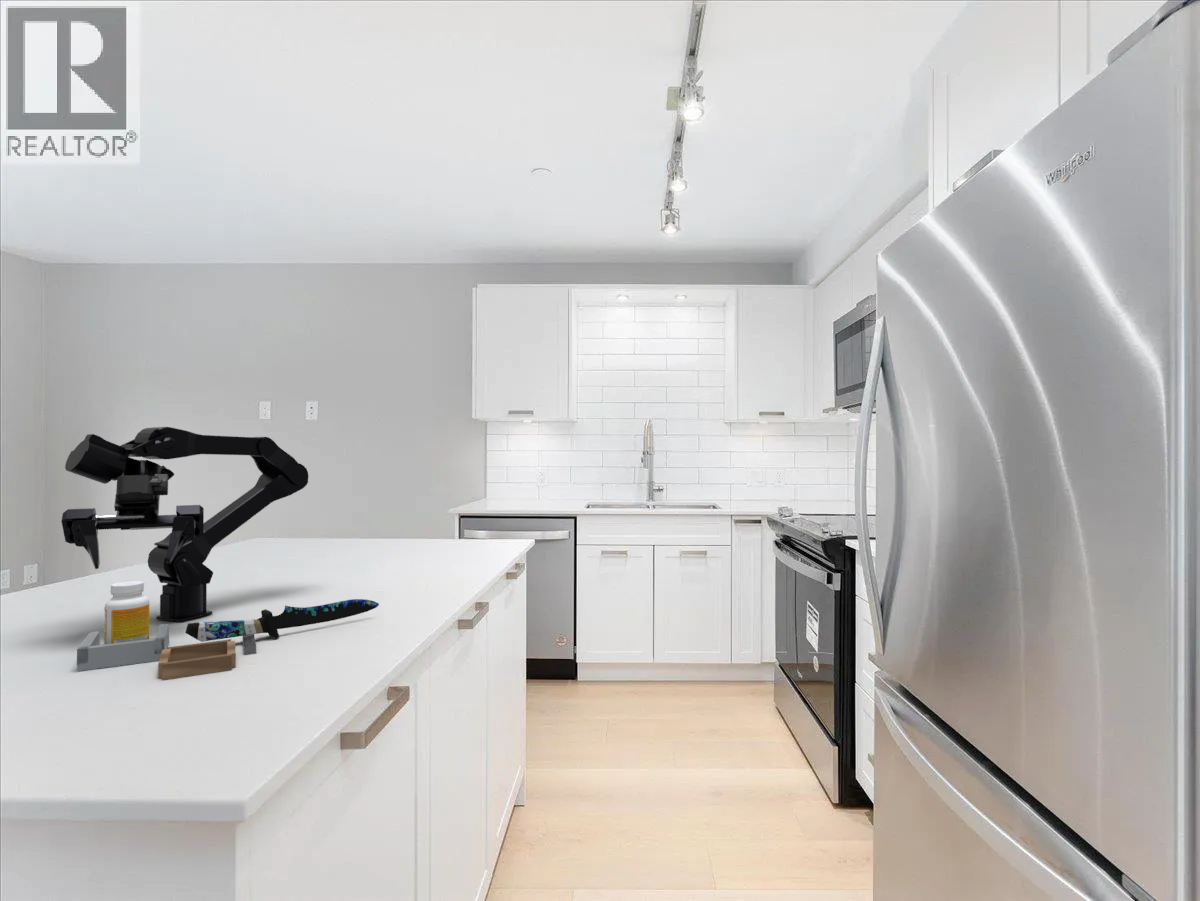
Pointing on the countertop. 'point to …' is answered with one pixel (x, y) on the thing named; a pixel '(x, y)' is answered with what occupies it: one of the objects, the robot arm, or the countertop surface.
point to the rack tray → (120, 651)
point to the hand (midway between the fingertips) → (133, 564)
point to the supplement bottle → (126, 613)
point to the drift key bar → (249, 644)
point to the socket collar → (197, 659)
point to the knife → (279, 620)
